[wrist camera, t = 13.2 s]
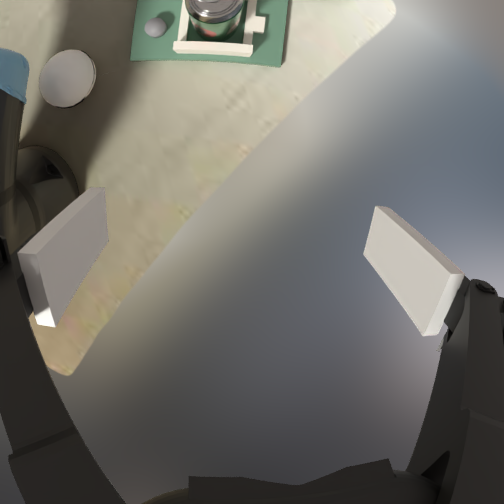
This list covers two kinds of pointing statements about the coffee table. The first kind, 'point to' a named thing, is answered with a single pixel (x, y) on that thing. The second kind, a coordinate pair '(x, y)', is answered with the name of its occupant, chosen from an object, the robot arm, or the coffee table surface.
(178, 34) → the board
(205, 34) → the soda can
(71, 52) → the seamed sphere
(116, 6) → the coffee table surface
